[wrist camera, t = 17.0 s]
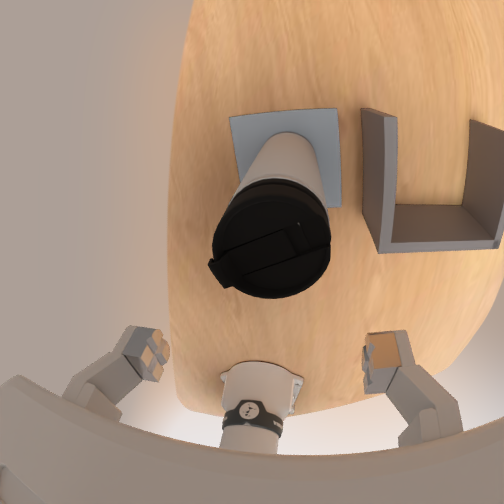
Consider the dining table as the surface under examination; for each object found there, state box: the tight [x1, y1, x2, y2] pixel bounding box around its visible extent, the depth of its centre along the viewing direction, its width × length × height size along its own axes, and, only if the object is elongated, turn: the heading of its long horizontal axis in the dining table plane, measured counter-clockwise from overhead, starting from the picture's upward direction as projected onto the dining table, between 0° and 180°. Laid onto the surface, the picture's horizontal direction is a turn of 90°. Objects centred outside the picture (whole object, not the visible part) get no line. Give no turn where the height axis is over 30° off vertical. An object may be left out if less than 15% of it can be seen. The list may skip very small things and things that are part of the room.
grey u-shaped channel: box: [361, 108, 504, 254], centre depth 24 cm, size 13×16×9 cm
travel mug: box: [208, 132, 331, 299], centre depth 22 cm, size 6×7×20 cm
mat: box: [229, 108, 342, 208], centre depth 30 cm, size 12×12×1 cm
